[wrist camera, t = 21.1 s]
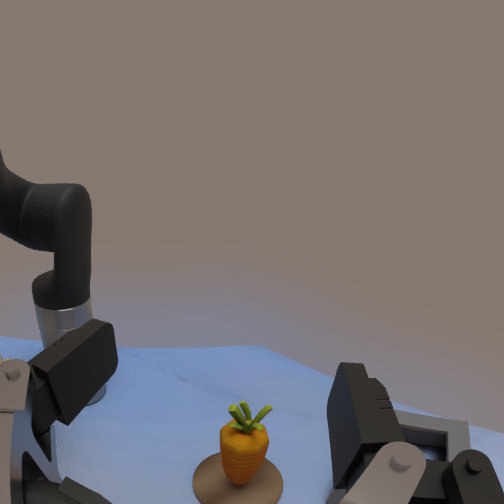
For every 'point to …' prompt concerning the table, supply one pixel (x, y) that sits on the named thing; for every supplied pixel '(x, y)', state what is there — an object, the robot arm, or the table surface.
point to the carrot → (243, 443)
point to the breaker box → (425, 438)
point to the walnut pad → (228, 493)
